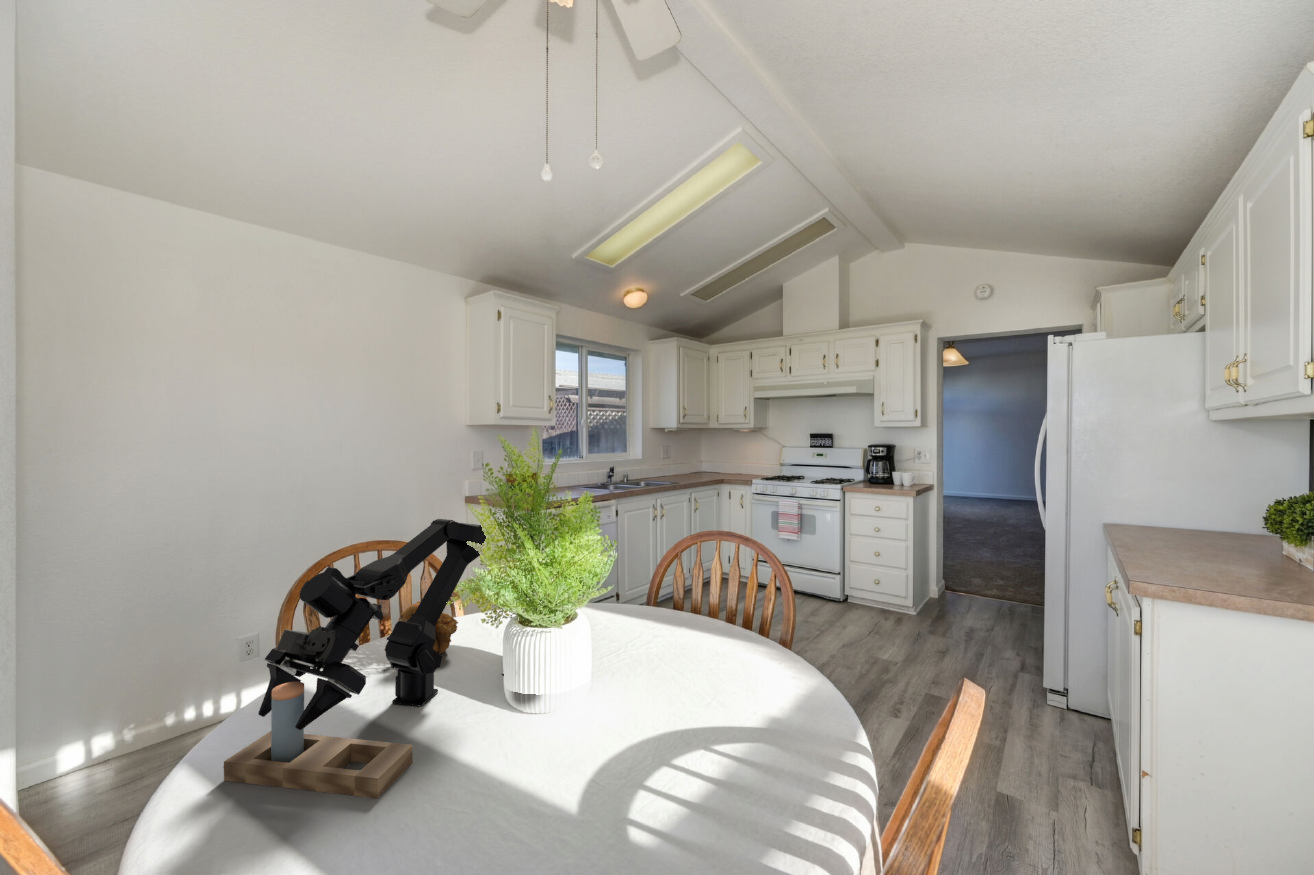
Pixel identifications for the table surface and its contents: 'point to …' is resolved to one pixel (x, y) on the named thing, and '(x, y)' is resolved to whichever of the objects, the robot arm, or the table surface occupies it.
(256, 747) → the wooden peg holder
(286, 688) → the peg
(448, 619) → the stuffed squirrel
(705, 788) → the table surface
